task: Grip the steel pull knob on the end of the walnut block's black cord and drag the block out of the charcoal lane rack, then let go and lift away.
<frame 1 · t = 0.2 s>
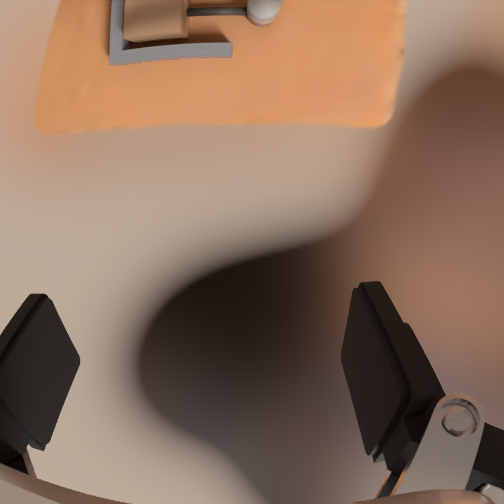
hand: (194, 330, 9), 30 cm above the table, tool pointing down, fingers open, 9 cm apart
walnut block: (163, 17, 28), on the table
lane rack: (180, 15, 28), on the table
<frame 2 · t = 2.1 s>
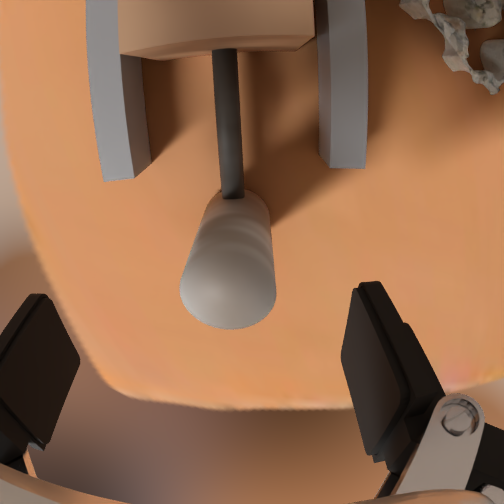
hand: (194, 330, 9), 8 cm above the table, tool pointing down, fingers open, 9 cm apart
lane rack: (226, 32, 12), on the table
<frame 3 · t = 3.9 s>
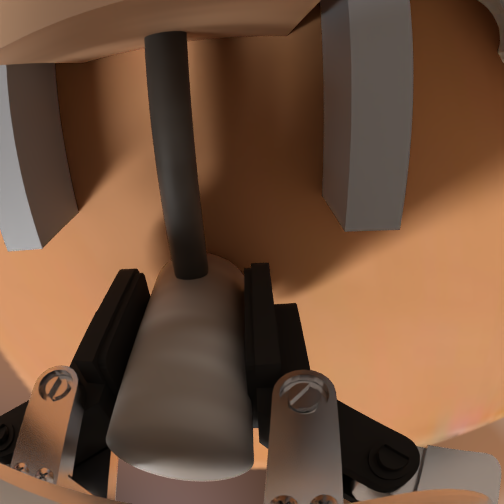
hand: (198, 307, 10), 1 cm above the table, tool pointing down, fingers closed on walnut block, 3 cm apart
lane rack: (175, 7, 7), on the table
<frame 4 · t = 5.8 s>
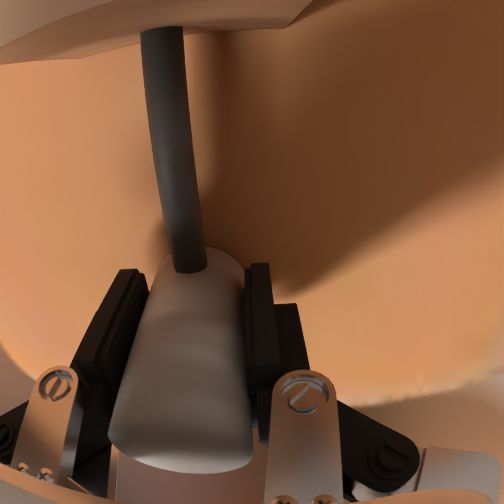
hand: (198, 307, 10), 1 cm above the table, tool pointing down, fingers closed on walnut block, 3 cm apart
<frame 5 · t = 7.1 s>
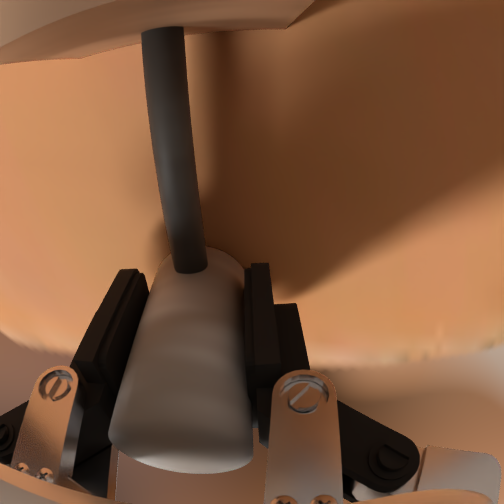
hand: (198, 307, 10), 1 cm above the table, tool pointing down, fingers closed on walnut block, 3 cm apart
when the fingers open (1 cm above the table, at t = 7.6 s): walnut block stays where it is, on the table.
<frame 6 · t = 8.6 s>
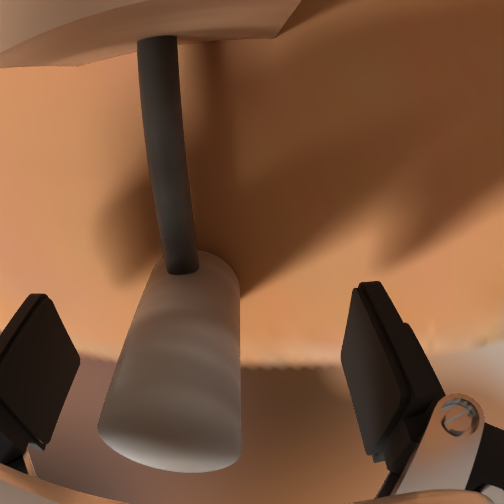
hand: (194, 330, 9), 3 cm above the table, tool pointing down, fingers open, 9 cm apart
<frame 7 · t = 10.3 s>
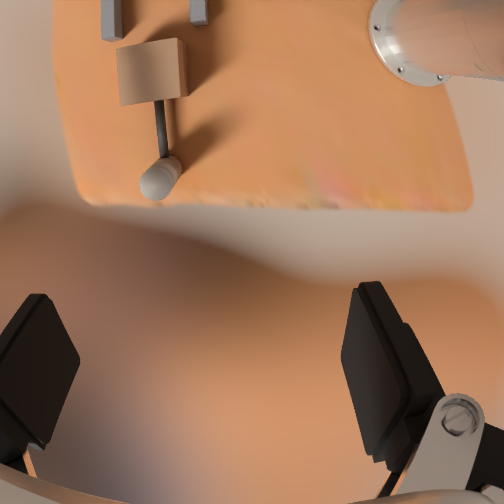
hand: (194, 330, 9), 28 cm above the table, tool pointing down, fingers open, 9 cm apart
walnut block: (160, 73, 29), on the table
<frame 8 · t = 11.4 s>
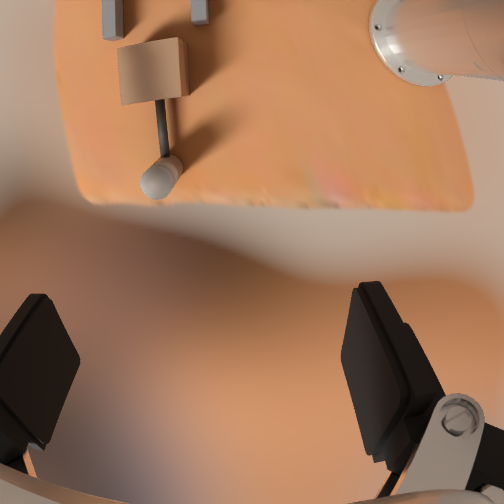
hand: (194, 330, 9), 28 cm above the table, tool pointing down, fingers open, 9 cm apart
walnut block: (161, 72, 29), on the table
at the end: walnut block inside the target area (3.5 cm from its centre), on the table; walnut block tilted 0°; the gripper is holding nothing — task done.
